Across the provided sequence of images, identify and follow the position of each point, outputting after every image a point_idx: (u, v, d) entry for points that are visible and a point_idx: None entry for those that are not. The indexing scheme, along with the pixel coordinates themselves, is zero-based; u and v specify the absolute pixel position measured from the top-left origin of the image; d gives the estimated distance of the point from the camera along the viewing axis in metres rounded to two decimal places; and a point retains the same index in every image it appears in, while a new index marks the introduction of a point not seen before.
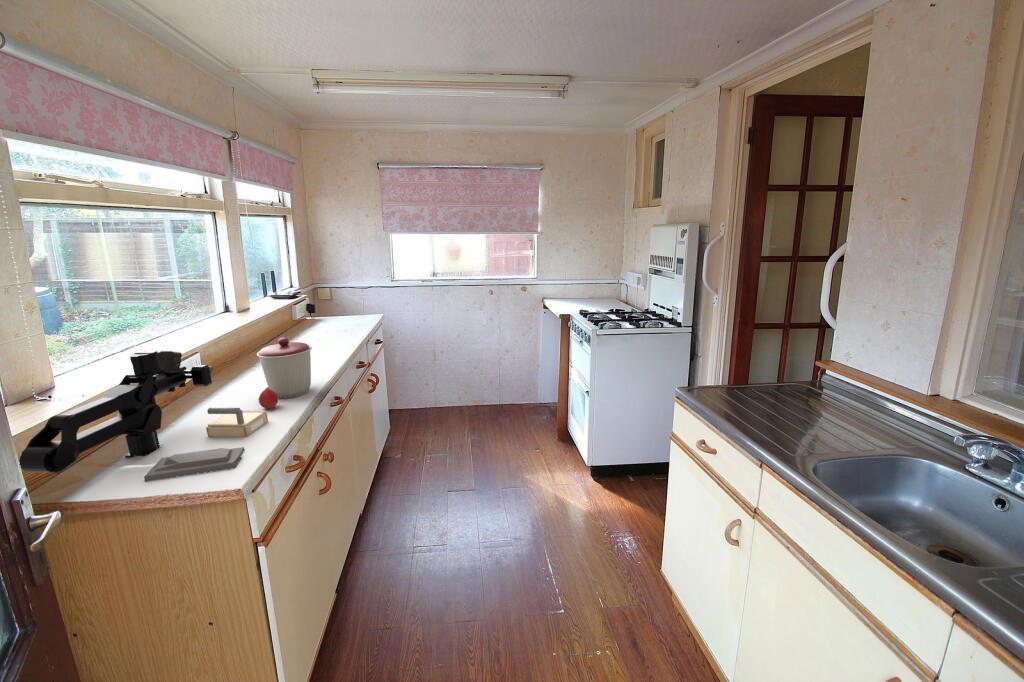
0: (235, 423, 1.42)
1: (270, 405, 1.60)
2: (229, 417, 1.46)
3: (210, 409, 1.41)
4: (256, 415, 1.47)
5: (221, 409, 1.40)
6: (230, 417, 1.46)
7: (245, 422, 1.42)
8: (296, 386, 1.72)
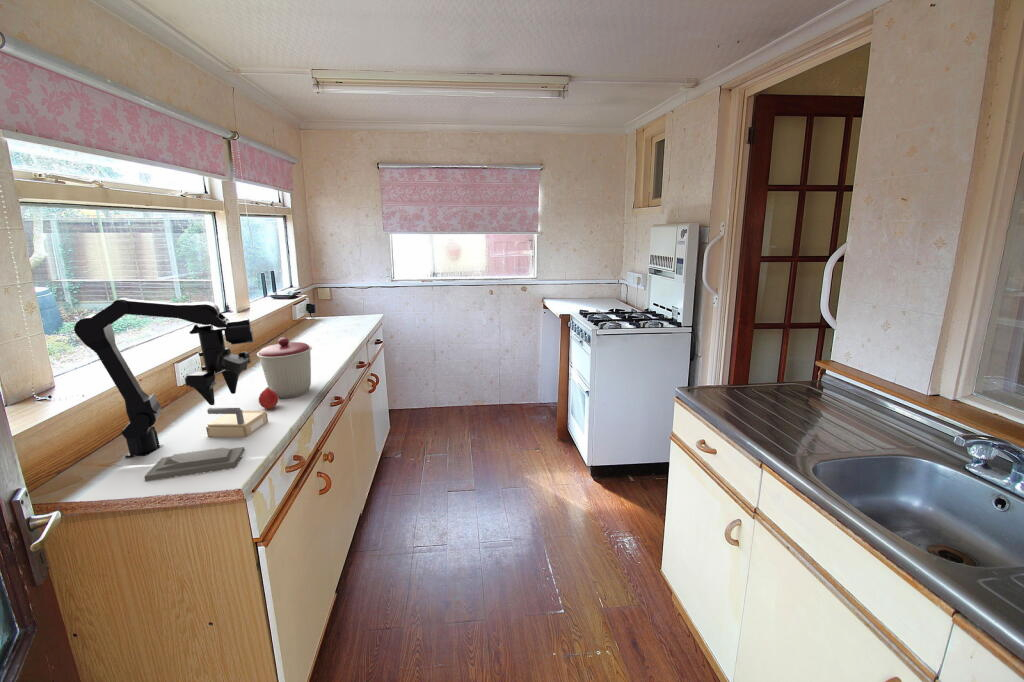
0: (235, 423, 1.42)
1: (270, 405, 1.60)
2: (229, 417, 1.46)
3: (210, 409, 1.41)
4: (256, 415, 1.47)
5: (221, 409, 1.40)
6: (230, 417, 1.46)
7: (245, 422, 1.42)
8: (296, 386, 1.72)
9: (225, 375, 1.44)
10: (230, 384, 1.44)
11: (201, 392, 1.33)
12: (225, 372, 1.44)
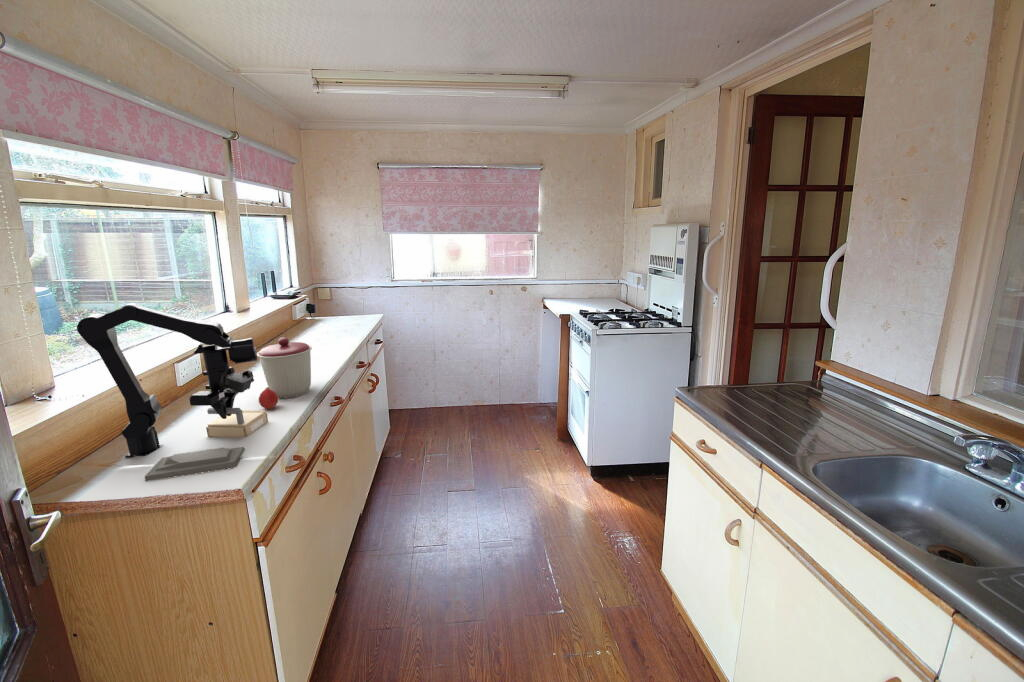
0: (235, 423, 1.42)
1: (270, 405, 1.60)
2: (229, 417, 1.46)
3: (210, 409, 1.41)
4: (256, 415, 1.47)
5: None
6: (230, 417, 1.46)
7: (245, 422, 1.42)
8: (296, 387, 1.72)
9: None
10: (226, 407, 1.42)
11: (214, 406, 1.38)
12: None
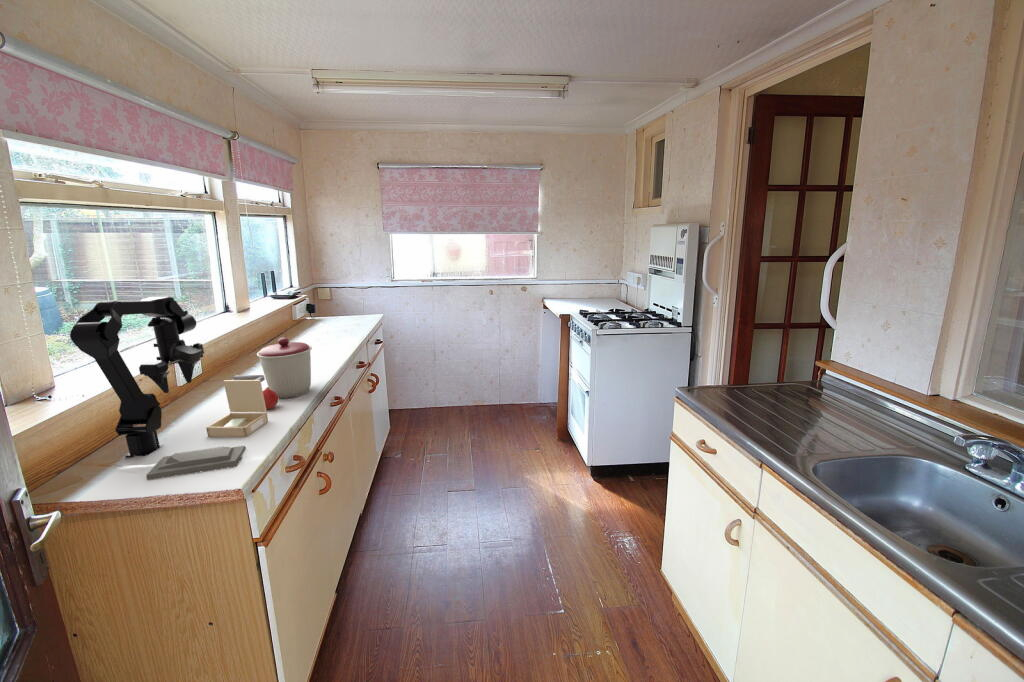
0: None
1: (270, 405, 1.60)
2: None
3: None
4: None
5: None
6: None
7: None
8: (296, 386, 1.72)
9: (181, 365, 1.53)
10: (186, 374, 1.53)
11: (155, 380, 1.42)
12: (181, 362, 1.53)
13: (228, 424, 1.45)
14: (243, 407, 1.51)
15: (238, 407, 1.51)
